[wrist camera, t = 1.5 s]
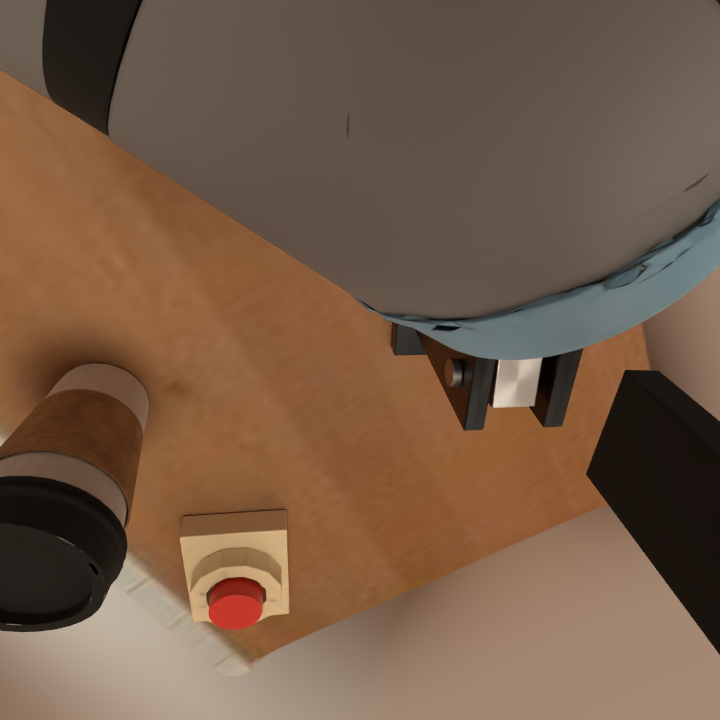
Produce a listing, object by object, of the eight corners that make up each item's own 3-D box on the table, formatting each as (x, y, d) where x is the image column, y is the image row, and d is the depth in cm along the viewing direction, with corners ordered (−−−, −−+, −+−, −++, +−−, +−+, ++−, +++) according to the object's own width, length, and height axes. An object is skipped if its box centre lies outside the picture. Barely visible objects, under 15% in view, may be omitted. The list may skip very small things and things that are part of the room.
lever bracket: (401, 218, 34) (461, 301, 23) (510, 218, 35) (618, 299, 24) (390, 347, 38) (437, 470, 27) (487, 345, 39) (570, 462, 28)
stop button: (208, 577, 42) (205, 597, 41) (261, 573, 43) (261, 593, 41) (212, 612, 44) (210, 632, 42) (263, 607, 45) (263, 627, 43)
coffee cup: (186, 434, 40) (143, 622, 27) (69, 461, 39) (-30, 664, 27) (140, 332, 35) (64, 498, 22) (10, 362, 35) (-144, 547, 22)
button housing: (183, 515, 43) (175, 556, 40) (286, 509, 44) (287, 548, 41) (196, 599, 48) (190, 642, 45) (288, 592, 49) (289, 633, 46)
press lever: (493, 111, 24) (523, 109, 21) (563, 113, 24) (602, 112, 21) (463, 383, 29) (484, 413, 26) (521, 381, 29) (548, 410, 26)
